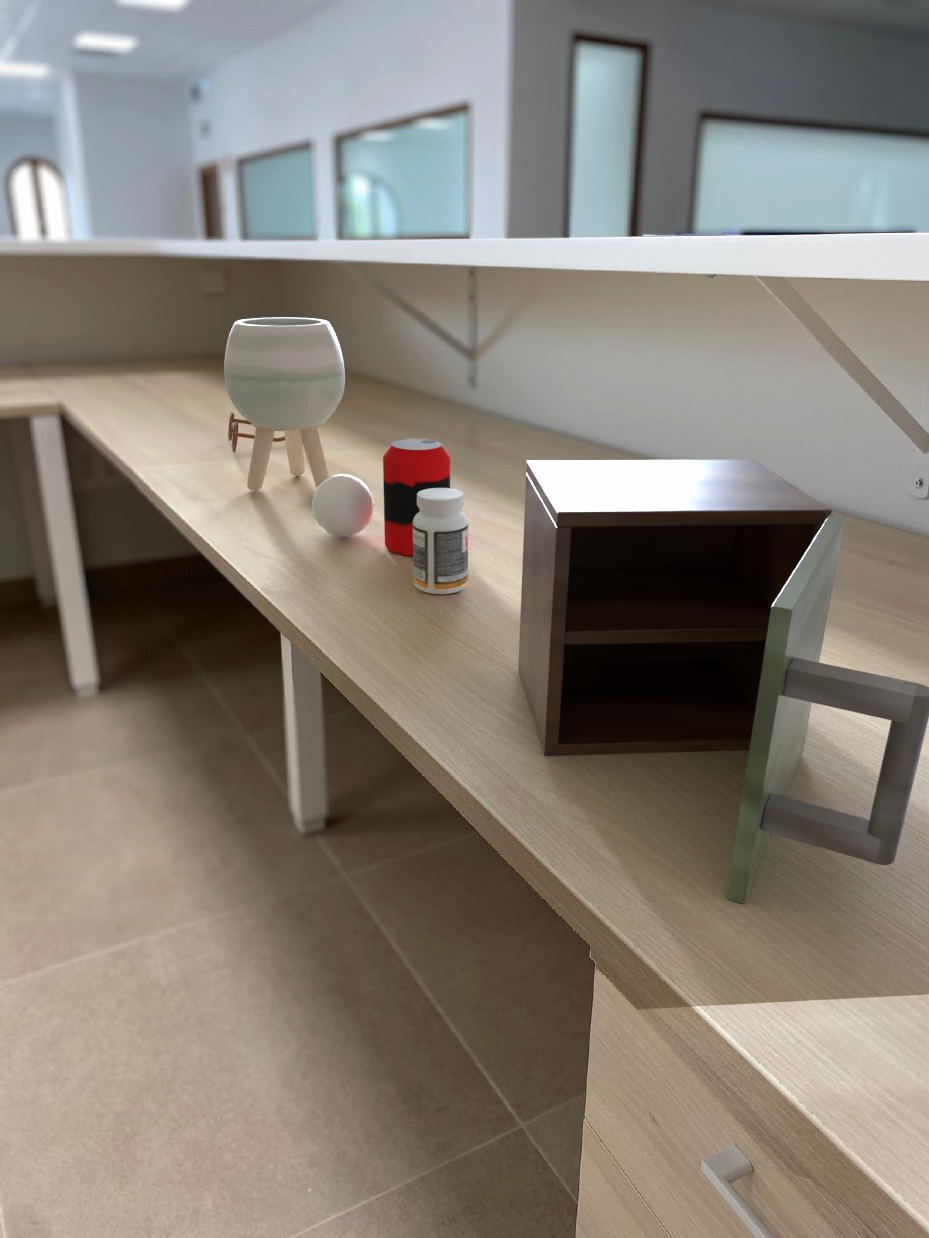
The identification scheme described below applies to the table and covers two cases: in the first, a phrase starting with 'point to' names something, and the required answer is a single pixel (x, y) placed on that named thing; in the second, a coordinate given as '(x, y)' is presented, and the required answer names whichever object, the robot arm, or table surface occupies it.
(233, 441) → the glasses
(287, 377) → the planter
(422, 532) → the pill bottle
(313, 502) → the white ovoid
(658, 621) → the cupboard
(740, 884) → the cupboard door
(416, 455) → the soda can
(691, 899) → the table surface
